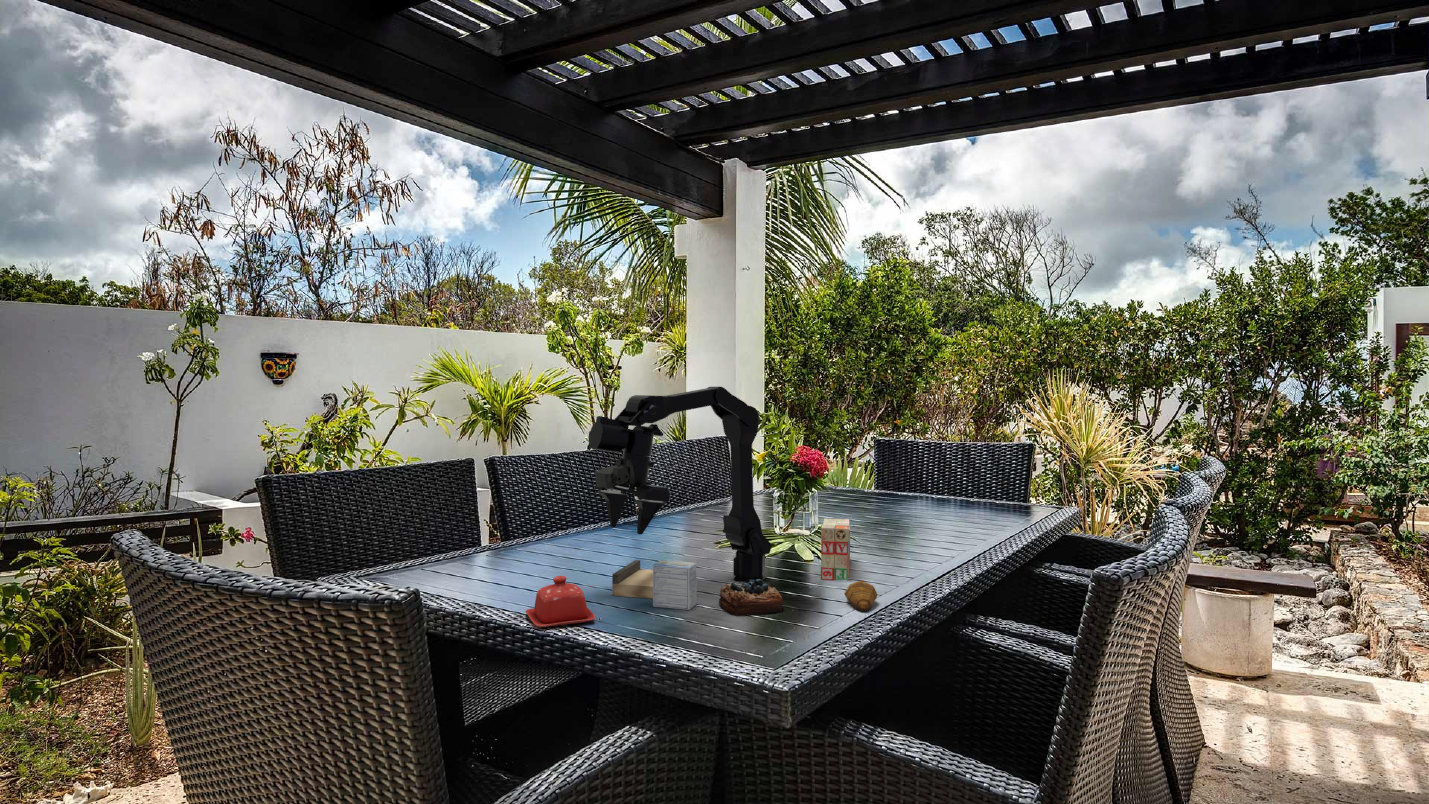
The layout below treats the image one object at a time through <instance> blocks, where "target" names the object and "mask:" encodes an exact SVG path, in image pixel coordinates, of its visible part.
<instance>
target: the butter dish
mask: <svg viewBox="0 0 1429 804" xmlns="http://www.w3.org/2000/svg"><path fill="white" fill-rule="evenodd" d="M552 581H553V584H549V585H546V586H542V587H541V588H539V589H538V590H537V592H536V595H535V602H534V606H533V608H529V609H528V608H527V609H526V610H525V614H526V615H527V616H528V617H529V619H530V621H531V622H532V624H533V625H535V626H536V627H538V628H549V626H551V627H557V625H560V626H565V625H574V624H576V625H577V624H582V623H583V624H584V623H585V622H590V621H594V620H596V616H595V614H594V613H593V611H592V610H591V609H590V608H589V607H588V605H587V600H586V596H585V594H584V592H583V590H582V588H581V587H580V586H578V585H576V584H575V583H571V582H570V583H568V582H567V577H566V576H564V575H557V576H556V575H555V576H554V577H553V578H552Z"/></svg>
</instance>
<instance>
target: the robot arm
mask: <svg viewBox="0 0 1429 804" xmlns="http://www.w3.org/2000/svg"><path fill="white" fill-rule="evenodd" d="M705 407H710V408H711V409H712V411H713V412H714V415H716V416H717V417H718V418H719V419H720V420H721V422H722V429H723V433H724V434H725V437H726V439H727V441H728V443H729V445H730V447H729V448H730V473H731V474H730V476H731V477H730V479H731V480H730V481H731V509H730V511H729V512H728V514H724V515H723V516H722V520H723V530H722V533H724V534H725V539H726V540H727V541H728V542H729V544H730V549H731V550H733V551H735V557H734V558H733V559H732V561H733V563H732V564H733V569H732V570H733V572H732V573H733V576H734V577H733V581H740V582H749V581H750V580H757V579H761V580H762V581H763V582H764V580H765V579H766V577H767V576H768V575H767V573H766V555H769V554H771V549H772V546H773V544H772V543H771V542H770V541H769V540H768V538H767V537H766V536H765V535H764V534H763V529H762V523H761V519H760V517H759V514H758V513H757V511H756V509H755V505H754V503H755V502H754V473H753V472H754V470H753V469H754V467H753V464H754V463H753V444H754V441H755V438H756V437H757V435H758V432H759V424H760V423H759V422H760V415H759V411H758V410H757V409H756V408H755V407H753V406H752V405H748V404H747V403H746V402H745V401H743V400H742V399H740V398H739V397H737V396H735V395H733V394H732V393H731V392H730V391H729V390H727V389H726V388H725V387H723V386H709V387H706V388H700V389H695V390H690V391H685V392H679V393H678V392H677V393H673V394H667V395H647V394H646V395H644V394H643V395H642V394H635V395H632V396H630V397H629V398H628V399H627V401H626V404H625V407H624V408H623V409H622V410H621V411H620V412H619V413H618V414H617V416H616V417H615V418H614V419H613V418H609V417H607V416H599V415H597V416H596V419H595V422H593V424H592V426H591V428H590V431H589V432H588V446H589V448H590V449H591V450H595V451H604V452H610V453H611V452H612V453H617V454H618V453H621V451H622V450H623V453H622V457H618V458H617V460H616V463H615V465H611V466H607V467H604V468H601V469H598V470H596V471H594V473H595V485H594V489H595V490H599V491H597V493H598V494H599V495H600V496H601V497H602V498H603V499H604V500H605V503H606V508H607V514H608V520H609V525H610V527H611V528H616V527H617V524H618V522H619V520H620V518H621V517H620V516H621V515H622V512H623V509H624V505H625V503H626V500H627V498H628V494H629V493H630V494H633V495H636V497H637V499H635V498H634V503H635V504H636V506H637V507H638V511H637V512H638V514H637V521H636V523H637V524H636V533H637V535H643V534H644V533H645V531H646V530H647V528H648V526H649V524H650V523H651V521H652V520H653V519H654V517H655V515H656V514H657V513H658V512H659V510H660V509H661V508H662V507H663V506H666V503H667V502H668V503H670V500H671V496H672V494H671V493H672V492H671V491H670V489H669V487H665V486H661V485H652V481H648V477H649V470H650V468H654V466H655V462H654V461H653V462H652V461H651V457H652V450H653V449H652V448H653V441H654V436H656V437H663V436H664V433H663V431H662V430H660V428H659V426H658V424H657V423H658V422H660V421H661V420H664V419H667V417H669V416H670V415H672V414H675V413H679V412H685V411H691V410H696V409H700V408H705ZM656 422H657V423H656ZM645 424H650V425H648V426H647V425H646V426H645ZM630 426H633V428H632V429H631V428H629V427H630ZM625 493H628V494H625Z"/></svg>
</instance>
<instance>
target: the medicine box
mask: <svg viewBox="0 0 1429 804" xmlns="http://www.w3.org/2000/svg"><path fill="white" fill-rule="evenodd" d="M652 570H653V599H652V606H653V607H655V608H663V609H667V608H668V609H676V610H685V611H686V610H687V611H690V610H691V609H693V608H694V607H695V606H696V605H697V594H698V593H697V563H696V562H689V561H680V560H664V559H663V560H659V561H657V562H656V563H654V564H653V565H652Z"/></svg>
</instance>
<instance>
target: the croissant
mask: <svg viewBox="0 0 1429 804" xmlns="http://www.w3.org/2000/svg"><path fill="white" fill-rule="evenodd" d="M843 594H844V596H845V598H846V599H847V601H848V603H849V604H850V605H852V607H853V608H854V609H855V610H857V611H860V612H863V613H864V612H868V611H870V609H871V608H872V607H873V605H874V603H875V601H876V599H877V598H878V592H877V590H876V588H875V586H874V585H872V584H870V583H868V582H865V581H863V580H859V581H856V582H853V583H850V584H849V585H848V586H847V588H846V590H845V592H844V593H843Z"/></svg>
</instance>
